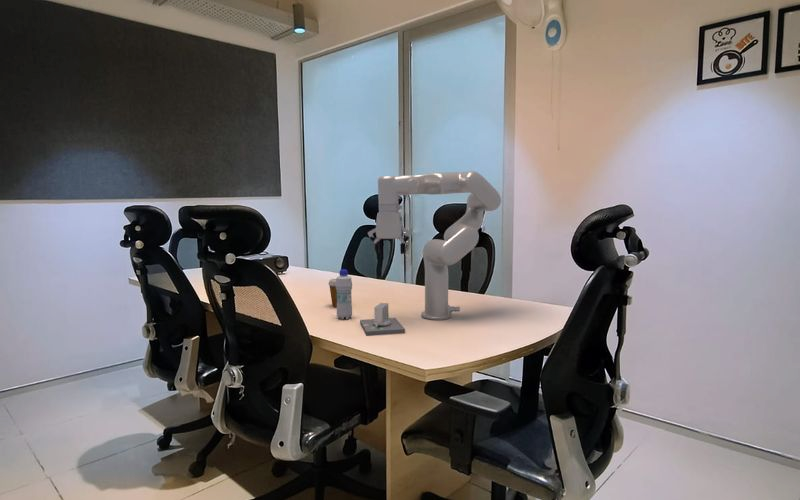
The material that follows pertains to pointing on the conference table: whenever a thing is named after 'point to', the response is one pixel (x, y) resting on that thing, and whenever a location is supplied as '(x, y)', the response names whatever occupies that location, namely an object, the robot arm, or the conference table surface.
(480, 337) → the conference table surface
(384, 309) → the knob
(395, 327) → the dial board
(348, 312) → the bottle
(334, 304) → the disposable coffee cup
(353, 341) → the conference table surface
